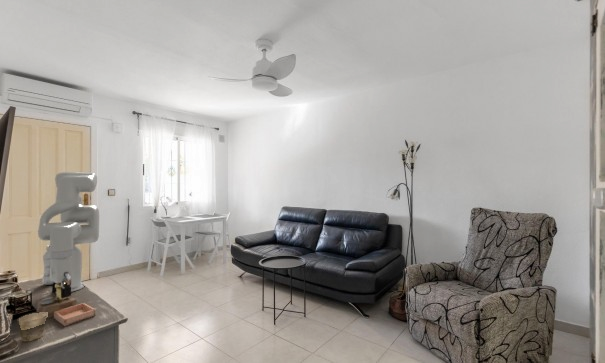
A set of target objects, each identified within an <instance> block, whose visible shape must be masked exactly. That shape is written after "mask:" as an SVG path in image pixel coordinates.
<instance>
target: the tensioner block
mask: <svg viewBox="0 0 605 363" xmlns="http://www.w3.org/2000/svg"><path fill="white" fill-rule="evenodd" d="M56 302H57V296H55V297H53V296H52V297H51V296H50V297H45V298H43V299H41V300H40V301H37V304H36V306H37V307H36V309H37V310H36V312H37V313H38V312H48V317H47V318H46V319H49V318H52V317H53V318H54V312H55V311H58V310H62V309H65V308H68V307H71V306H75V305H77V299H76V298H74V297H73V296H72V295H71V296H69V297H66V301H62V302H59V303H56Z"/></svg>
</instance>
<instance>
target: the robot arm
mask: <svg viewBox="0 0 605 363" xmlns="http://www.w3.org/2000/svg"><path fill="white" fill-rule="evenodd" d="M54 180H55V186H56V189H57V190H56V198H55V202H54V203H53V204H51V205H50V206H49V207H47V208H46V209H45V210H44V211H43V213H42V214H41V216H40V219H39V224H38V230H37V234H38V235H37V236H38V238H39V239H40V240H42V241H49V246H50V260H51V264H50V280H51V281H52V283H53V284H51V285H52V286H51V293H53V294H57V288H55V284H56V283H57V284H59V283H61V286H62V288H61V298H65V297H69V296H71V297H72V293H73V292H76V291H79V290H81V289H84V288H85V287H86V282H84V281H82V274H83V273H82V264H83V263H82V260H83V259H82V258H83V257H82V254H83V253H82V251H81V249H80V248H79V247H78V246H77V245H83V244H84V245H85V244H93V243H96V242H97V241H98V240H99V237H100V210H99V208H98V206H96V205H93V204H92V205H89V204H88V205H85V204H84V205H83V197H82V195H81V194H80V193H92V192H95V190H96V187H97V184H98V176H97V174H96V173H95V172H89V171H88V172H85V171H83V172H81V171H80V172H79V171H63V172H59V173H56V175H55V178H54ZM58 215H60V216H59V217H60V222H50V221H51V219H53V218H54V217H56V216H58ZM64 283H65V285H64ZM82 284H83V285H84V286H85V287H84V286H83V285H82Z"/></svg>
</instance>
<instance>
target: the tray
mask: <svg viewBox="0 0 605 363" xmlns="http://www.w3.org/2000/svg"><path fill="white" fill-rule="evenodd" d="M92 316H93V317H95V316H96V308H94V307H92V306H91V305H89V304H86V303H85V302H81V303H78V304H76V305H75V306H71V307H68V308H65V309H62V310H58V311H55V312H54V316H53V319H54V320H56V321H57V322H59V323H60V324H61V325H62V326H64V327H66V326H70V325H72V324H75V323H78V322H81V321H84V320H86V319H87V320H88V319H89V318H92Z"/></svg>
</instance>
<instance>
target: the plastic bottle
mask: <svg viewBox="0 0 605 363" xmlns="http://www.w3.org/2000/svg"><path fill="white" fill-rule="evenodd" d="M45 250H46V252H45V253H44V254H43V256H42V262H43V276H42V284H43V285H44V286H48V285H52V284H53V283H52V281H51V280H50V264H51V260H50V245H47V246H46V249H45Z"/></svg>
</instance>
